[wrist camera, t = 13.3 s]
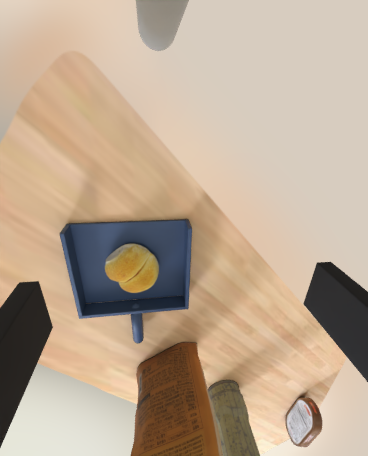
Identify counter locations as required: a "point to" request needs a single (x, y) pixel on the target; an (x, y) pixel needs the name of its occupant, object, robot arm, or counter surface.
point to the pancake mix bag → (174, 407)
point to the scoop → (110, 290)
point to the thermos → (232, 420)
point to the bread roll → (132, 268)
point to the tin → (303, 422)
